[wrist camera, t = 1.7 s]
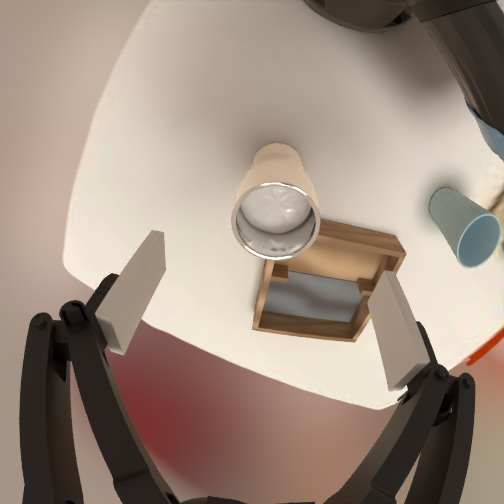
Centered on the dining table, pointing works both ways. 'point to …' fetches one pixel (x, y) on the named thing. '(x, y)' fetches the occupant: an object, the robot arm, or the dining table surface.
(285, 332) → the caddy
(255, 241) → the shiny metal cylinder
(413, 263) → the dining table surface
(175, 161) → the dining table surface
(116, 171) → the dining table surface
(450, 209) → the cup
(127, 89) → the dining table surface
